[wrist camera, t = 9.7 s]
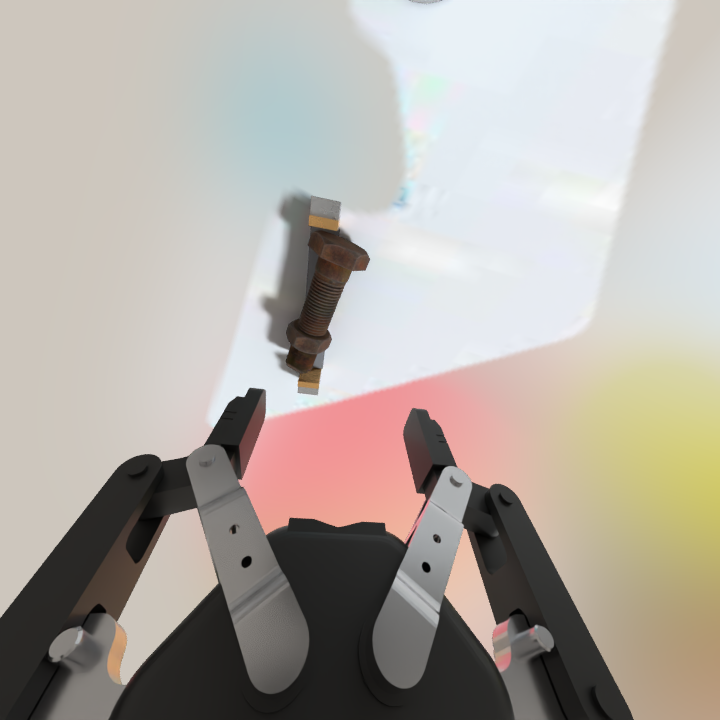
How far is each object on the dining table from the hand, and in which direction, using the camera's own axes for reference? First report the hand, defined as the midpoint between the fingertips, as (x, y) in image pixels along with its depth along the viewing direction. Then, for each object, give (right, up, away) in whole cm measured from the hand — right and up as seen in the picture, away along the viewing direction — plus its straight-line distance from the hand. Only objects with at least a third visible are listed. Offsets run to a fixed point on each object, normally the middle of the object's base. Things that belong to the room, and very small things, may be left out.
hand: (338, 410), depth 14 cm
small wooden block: (-5, +1, +20) cm, 21 cm away
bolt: (-4, +9, +15) cm, 18 cm away
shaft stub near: (-2, +17, +11) cm, 20 cm away
